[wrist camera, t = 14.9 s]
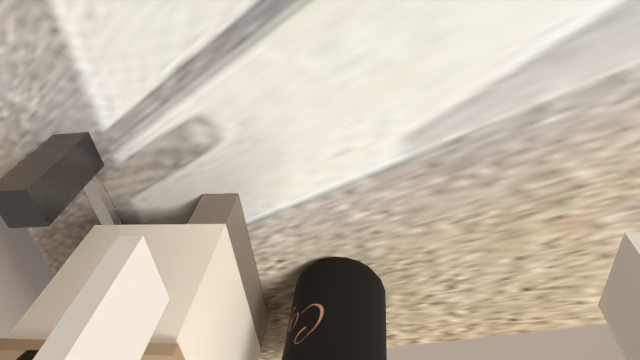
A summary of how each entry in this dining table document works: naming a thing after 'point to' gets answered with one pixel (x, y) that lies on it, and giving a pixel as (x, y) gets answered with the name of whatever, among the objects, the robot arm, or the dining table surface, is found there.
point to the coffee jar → (337, 313)
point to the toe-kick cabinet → (172, 287)
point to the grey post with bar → (55, 183)
